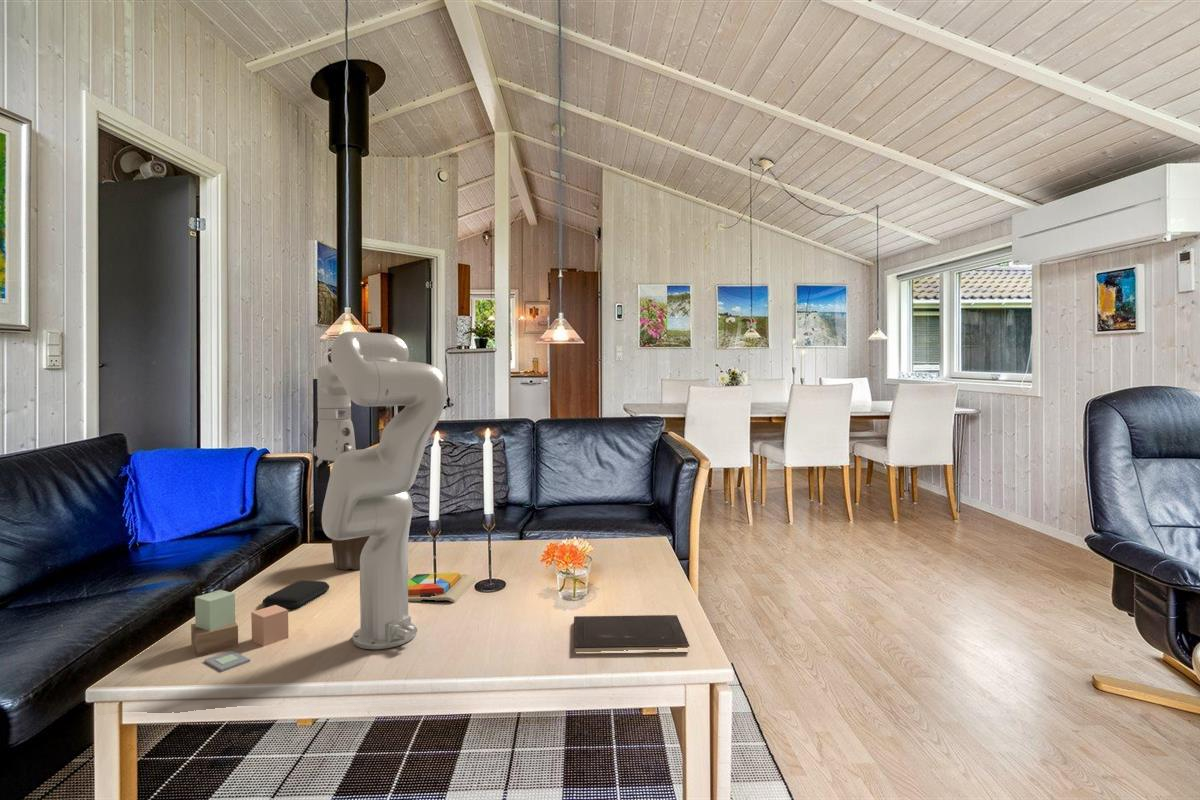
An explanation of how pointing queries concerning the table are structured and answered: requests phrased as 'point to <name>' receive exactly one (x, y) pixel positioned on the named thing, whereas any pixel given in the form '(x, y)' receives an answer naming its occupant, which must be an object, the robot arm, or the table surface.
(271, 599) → the carrying case or bag
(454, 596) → the wooden puzzle
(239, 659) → the card
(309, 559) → the table surface
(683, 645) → the hardcover book
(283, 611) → the terracotta block
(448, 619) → the table surface
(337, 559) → the plant pot
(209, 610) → the sage block
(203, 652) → the walnut base
